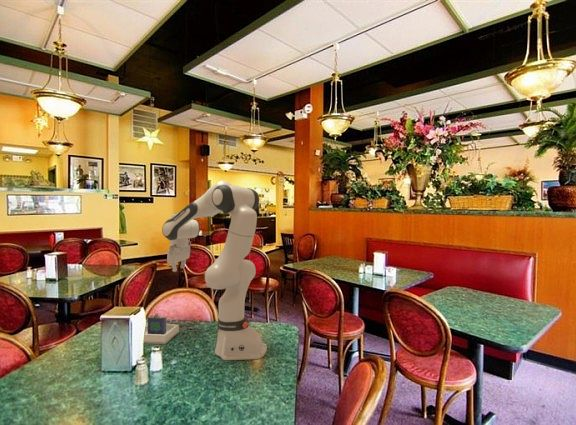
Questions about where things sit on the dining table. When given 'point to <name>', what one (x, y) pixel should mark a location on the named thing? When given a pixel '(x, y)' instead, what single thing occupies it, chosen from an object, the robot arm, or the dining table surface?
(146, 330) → the tub
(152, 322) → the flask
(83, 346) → the dining table surface
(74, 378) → the dining table surface
